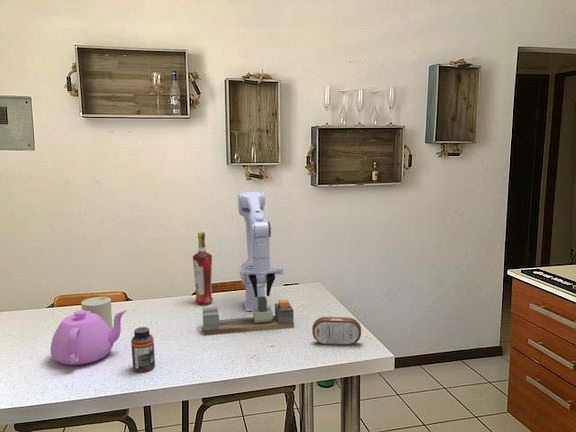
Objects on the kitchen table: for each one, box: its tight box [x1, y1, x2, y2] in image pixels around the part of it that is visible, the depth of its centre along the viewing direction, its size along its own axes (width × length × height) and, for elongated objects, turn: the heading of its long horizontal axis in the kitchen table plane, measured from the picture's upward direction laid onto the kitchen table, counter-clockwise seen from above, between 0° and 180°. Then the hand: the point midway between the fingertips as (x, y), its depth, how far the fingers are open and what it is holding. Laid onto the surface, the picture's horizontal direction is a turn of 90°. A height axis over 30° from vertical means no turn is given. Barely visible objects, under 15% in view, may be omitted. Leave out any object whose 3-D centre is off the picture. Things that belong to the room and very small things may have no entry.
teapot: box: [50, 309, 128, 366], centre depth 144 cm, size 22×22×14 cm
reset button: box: [278, 299, 290, 309], centre depth 168 cm, size 3×3×4 cm
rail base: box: [202, 302, 295, 336], centre depth 167 cm, size 9×30×6 cm, turn 101°
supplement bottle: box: [130, 326, 156, 373], centre depth 136 cm, size 6×6×11 cm
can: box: [80, 296, 114, 331], centre depth 161 cm, size 9×9×12 cm
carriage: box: [252, 296, 274, 323], centre depth 167 cm, size 6×6×8 cm
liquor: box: [192, 232, 214, 306], centre depth 190 cm, size 7×7×28 cm
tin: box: [311, 316, 362, 346], centre depth 151 cm, size 15×3×8 cm, turn 84°
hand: (262, 295), depth 166 cm, fingers open, 3 cm apart
